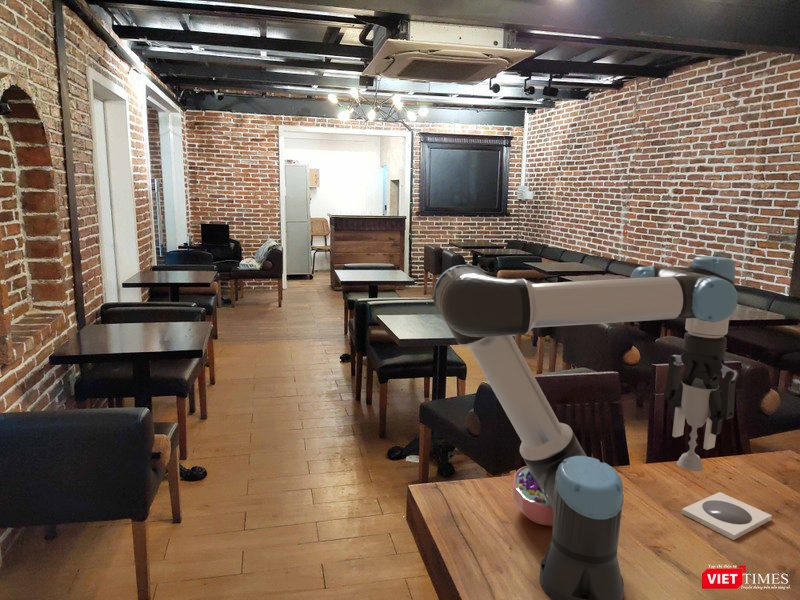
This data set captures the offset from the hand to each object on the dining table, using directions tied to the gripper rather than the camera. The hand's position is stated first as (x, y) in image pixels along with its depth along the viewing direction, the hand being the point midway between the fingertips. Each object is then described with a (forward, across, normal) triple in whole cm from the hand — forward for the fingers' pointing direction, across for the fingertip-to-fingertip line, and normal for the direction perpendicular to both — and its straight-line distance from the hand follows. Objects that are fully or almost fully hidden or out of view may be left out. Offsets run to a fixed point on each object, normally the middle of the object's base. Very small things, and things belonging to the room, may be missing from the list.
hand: (692, 441), depth 115 cm
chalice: (+6, 0, 0) cm, 6 cm away
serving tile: (+23, +1, -19) cm, 30 cm away
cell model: (+23, +21, +18) cm, 36 cm away
